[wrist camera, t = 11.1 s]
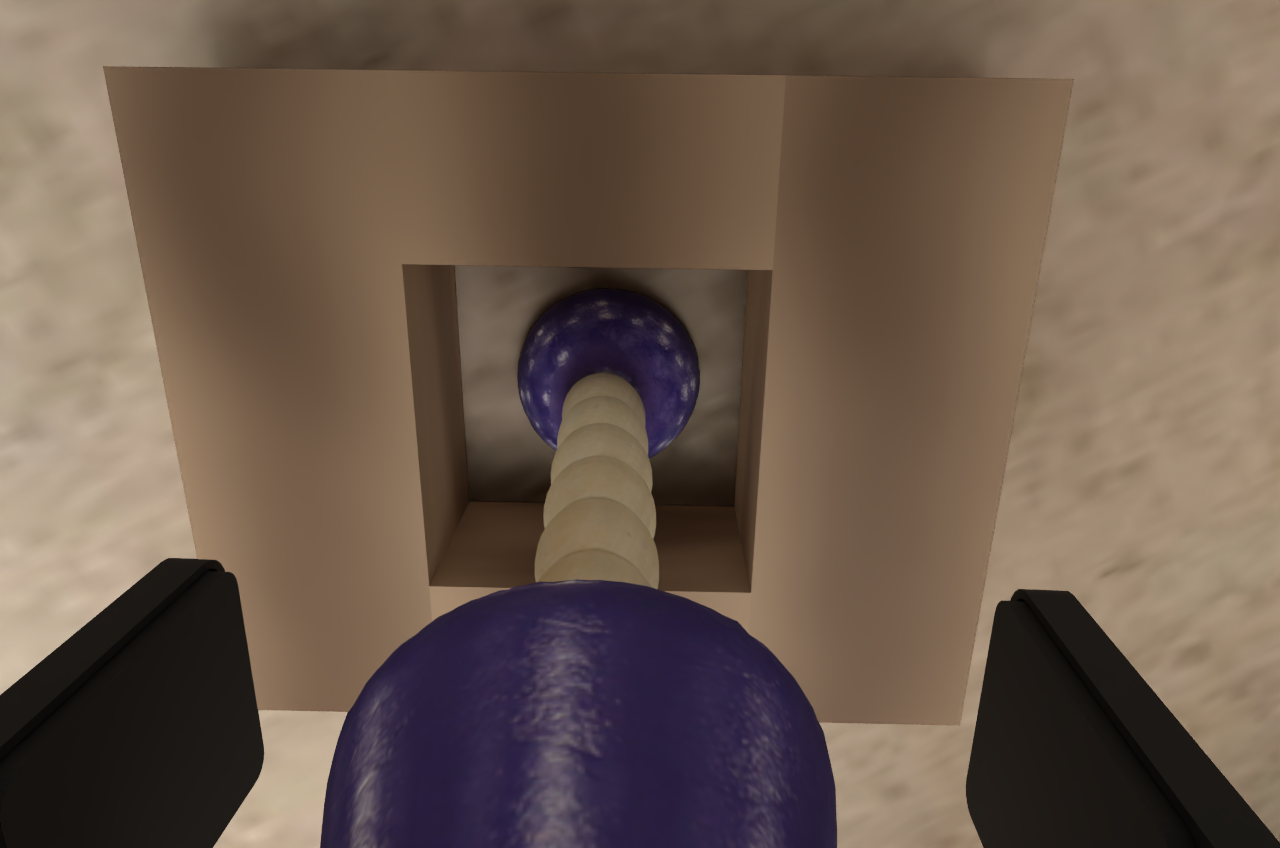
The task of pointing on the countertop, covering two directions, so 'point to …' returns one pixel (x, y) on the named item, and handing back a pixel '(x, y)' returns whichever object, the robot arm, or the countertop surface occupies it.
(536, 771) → the toy lamp
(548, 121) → the brown flat frame block
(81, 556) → the countertop surface
